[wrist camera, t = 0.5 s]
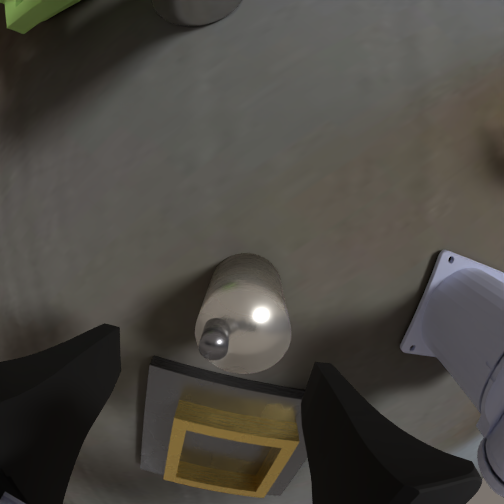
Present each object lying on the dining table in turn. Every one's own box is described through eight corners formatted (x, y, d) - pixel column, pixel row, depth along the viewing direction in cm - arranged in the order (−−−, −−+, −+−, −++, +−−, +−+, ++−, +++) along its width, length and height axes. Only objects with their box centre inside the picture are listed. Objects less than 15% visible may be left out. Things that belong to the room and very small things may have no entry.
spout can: (290, 263, 20) (310, 321, 12) (270, 325, 21) (276, 402, 13) (219, 245, 19) (199, 294, 12) (204, 309, 20) (181, 381, 13)
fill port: (336, 394, 22) (345, 422, 19) (279, 486, 26) (281, 510, 23) (154, 355, 21) (141, 382, 18) (143, 460, 25) (135, 483, 22)
